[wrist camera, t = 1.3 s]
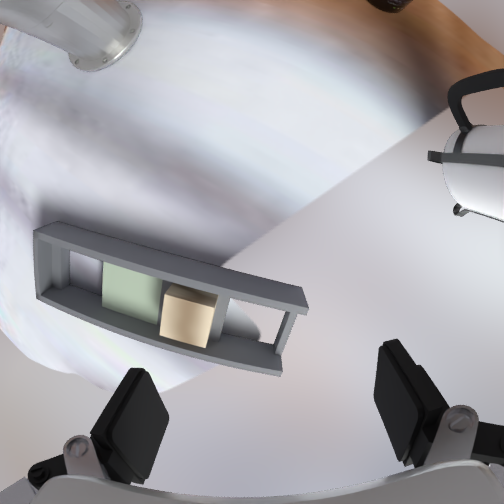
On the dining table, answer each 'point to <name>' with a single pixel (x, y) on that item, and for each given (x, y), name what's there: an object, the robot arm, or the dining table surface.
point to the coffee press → (474, 153)
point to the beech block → (188, 314)
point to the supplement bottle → (390, 5)
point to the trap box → (159, 295)
